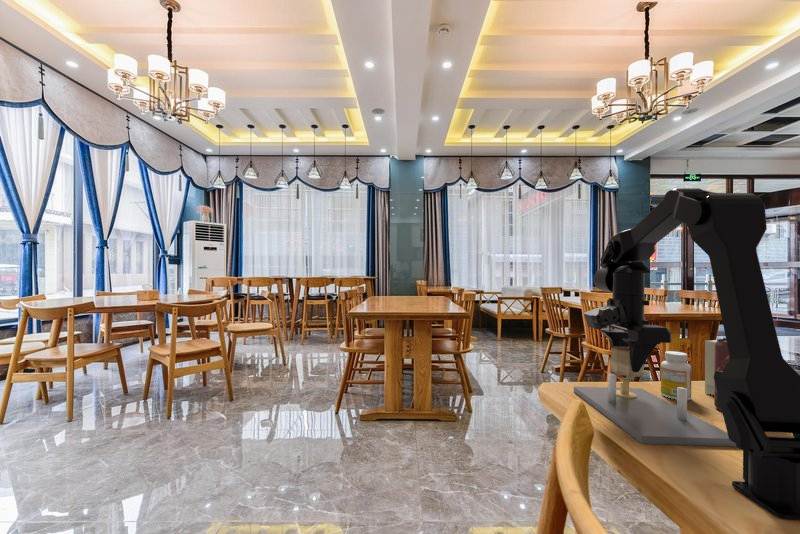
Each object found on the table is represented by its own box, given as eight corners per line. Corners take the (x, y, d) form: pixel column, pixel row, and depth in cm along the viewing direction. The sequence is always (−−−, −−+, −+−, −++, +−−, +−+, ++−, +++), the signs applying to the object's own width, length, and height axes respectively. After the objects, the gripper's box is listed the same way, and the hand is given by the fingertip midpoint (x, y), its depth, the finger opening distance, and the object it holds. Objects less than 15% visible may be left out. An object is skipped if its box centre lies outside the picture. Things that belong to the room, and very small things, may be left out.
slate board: (739, 446, 58) (739, 404, 58) (641, 443, 59) (642, 401, 59) (641, 393, 83) (641, 364, 83) (573, 391, 84) (574, 362, 84)
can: (766, 419, 69) (766, 344, 69) (727, 415, 71) (727, 342, 71) (743, 407, 75) (743, 339, 75) (707, 404, 77) (708, 337, 77)
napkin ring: (648, 377, 75) (648, 352, 75) (620, 376, 75) (621, 351, 75) (632, 369, 81) (633, 346, 81) (606, 368, 81) (607, 346, 81)
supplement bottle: (673, 392, 84) (673, 349, 85) (697, 400, 79) (698, 355, 79) (654, 393, 83) (655, 350, 83) (678, 402, 78) (678, 356, 78)
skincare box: (725, 399, 80) (725, 343, 80) (703, 393, 84) (703, 340, 84) (745, 397, 81) (746, 342, 81) (723, 391, 86) (723, 339, 86)
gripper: (571, 291, 88) (570, 356, 88) (612, 297, 69) (611, 380, 69) (618, 291, 87) (617, 357, 87) (674, 298, 68) (672, 382, 68)
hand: (627, 368), depth 78 cm, fingers closed on napkin ring, 5 cm apart
